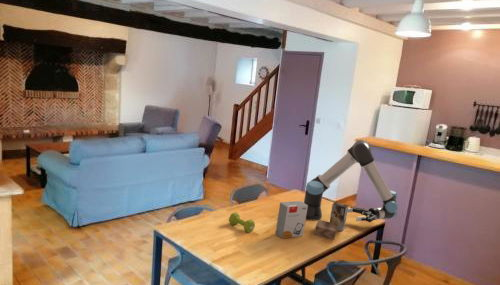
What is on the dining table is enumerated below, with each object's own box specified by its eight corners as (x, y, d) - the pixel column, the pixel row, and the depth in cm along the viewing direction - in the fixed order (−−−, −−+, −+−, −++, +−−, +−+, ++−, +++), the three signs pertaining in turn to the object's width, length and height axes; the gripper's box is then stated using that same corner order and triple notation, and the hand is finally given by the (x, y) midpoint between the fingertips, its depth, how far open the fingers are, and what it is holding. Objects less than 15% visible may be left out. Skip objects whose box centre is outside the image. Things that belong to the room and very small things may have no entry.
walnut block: (314, 235, 217) (315, 226, 216) (317, 228, 228) (318, 219, 227) (334, 240, 214) (335, 231, 212) (335, 232, 225) (337, 223, 224)
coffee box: (345, 228, 232) (349, 205, 229) (342, 231, 227) (346, 208, 224) (331, 224, 237) (335, 201, 234) (328, 227, 231) (332, 203, 228)
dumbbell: (255, 231, 213) (256, 220, 212) (246, 234, 207) (247, 223, 206) (236, 221, 224) (237, 210, 222) (227, 224, 218) (228, 213, 217)
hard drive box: (281, 239, 207) (286, 206, 203) (275, 233, 213) (279, 202, 209) (303, 236, 214) (308, 205, 210) (296, 230, 221) (300, 200, 217)
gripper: (387, 226, 231) (361, 228, 223) (363, 211, 253) (338, 212, 245) (390, 215, 229) (363, 217, 221) (365, 201, 252) (340, 202, 244)
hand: (350, 214), depth 233 cm, fingers open, 13 cm apart
